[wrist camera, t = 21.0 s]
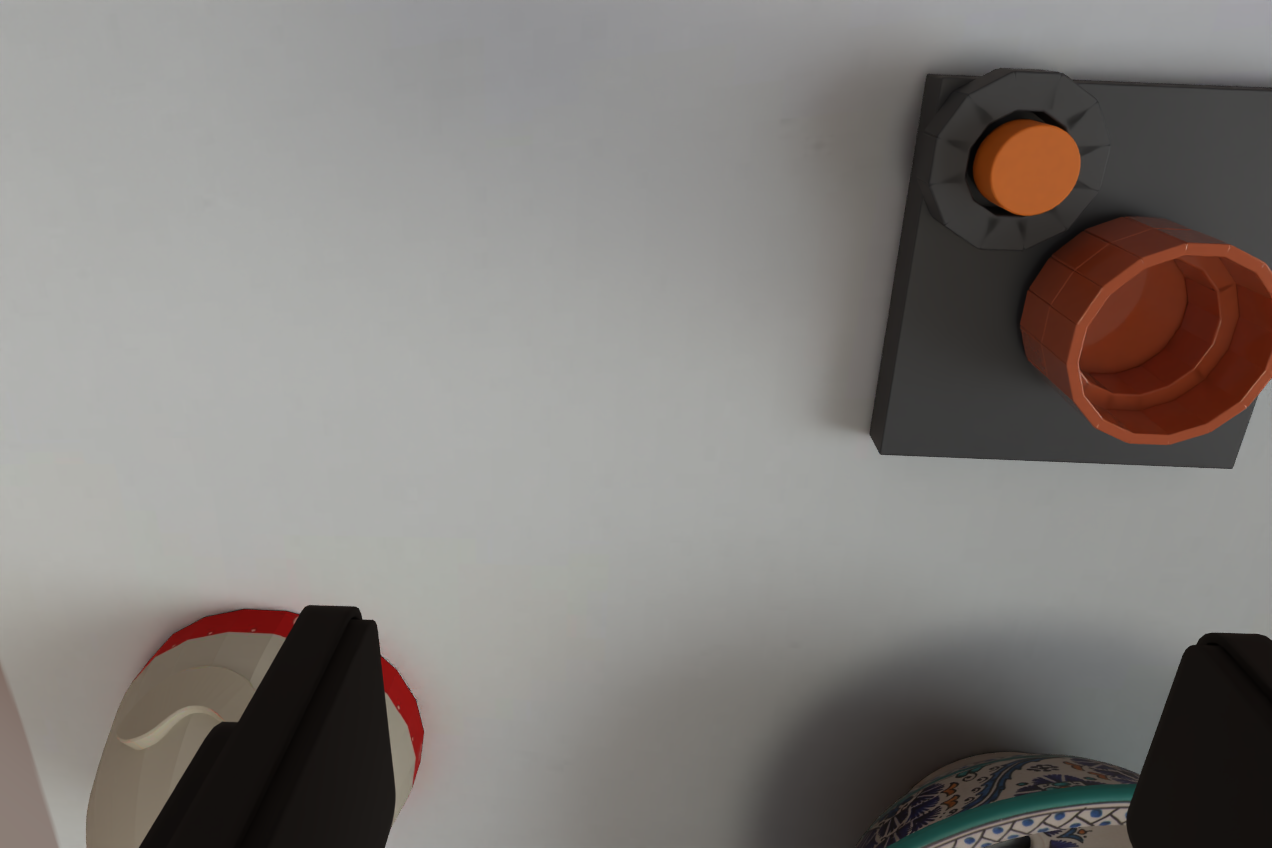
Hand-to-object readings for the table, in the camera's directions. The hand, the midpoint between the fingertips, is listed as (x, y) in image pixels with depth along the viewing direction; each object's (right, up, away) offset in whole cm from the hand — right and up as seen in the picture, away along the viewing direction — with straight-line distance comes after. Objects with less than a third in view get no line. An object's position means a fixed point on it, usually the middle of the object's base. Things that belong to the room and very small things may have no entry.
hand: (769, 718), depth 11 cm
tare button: (+11, +12, +19) cm, 25 cm away
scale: (+15, +9, +24) cm, 30 cm away
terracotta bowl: (+16, +8, +22) cm, 29 cm away
